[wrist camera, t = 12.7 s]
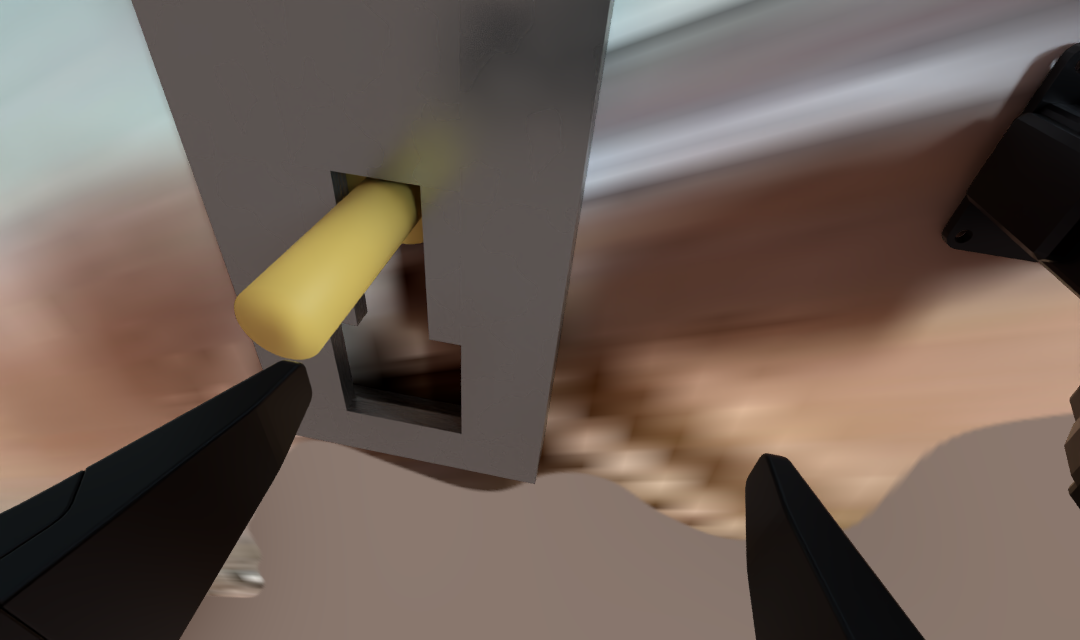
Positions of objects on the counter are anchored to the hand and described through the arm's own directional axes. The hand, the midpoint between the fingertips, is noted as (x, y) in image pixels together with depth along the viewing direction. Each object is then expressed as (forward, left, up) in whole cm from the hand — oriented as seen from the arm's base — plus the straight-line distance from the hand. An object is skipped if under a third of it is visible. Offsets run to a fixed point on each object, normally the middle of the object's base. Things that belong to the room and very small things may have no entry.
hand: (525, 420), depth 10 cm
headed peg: (+7, +1, -12) cm, 14 cm away
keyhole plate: (+7, +5, -12) cm, 15 cm away
